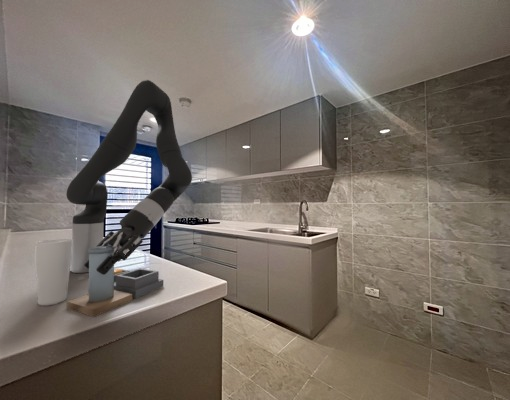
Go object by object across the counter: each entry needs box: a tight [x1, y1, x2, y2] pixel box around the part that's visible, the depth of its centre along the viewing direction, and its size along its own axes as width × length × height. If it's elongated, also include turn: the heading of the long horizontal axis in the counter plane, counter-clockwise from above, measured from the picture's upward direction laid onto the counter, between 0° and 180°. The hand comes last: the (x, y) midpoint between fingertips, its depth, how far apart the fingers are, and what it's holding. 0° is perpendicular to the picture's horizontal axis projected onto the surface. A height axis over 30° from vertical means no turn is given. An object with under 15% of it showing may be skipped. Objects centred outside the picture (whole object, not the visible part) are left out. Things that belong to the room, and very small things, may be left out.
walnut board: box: [66, 290, 133, 318], centre depth 53 cm, size 10×9×2 cm
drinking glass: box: [34, 238, 72, 307], centre depth 54 cm, size 7×7×15 cm
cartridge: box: [88, 246, 115, 302], centre depth 53 cm, size 5×5×12 cm
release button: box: [114, 268, 122, 275], centre depth 66 cm, size 4×4×2 cm
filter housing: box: [114, 267, 164, 299], centre depth 64 cm, size 19×9×4 cm, turn 67°
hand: (93, 270), depth 51 cm, fingers open, 6 cm apart
